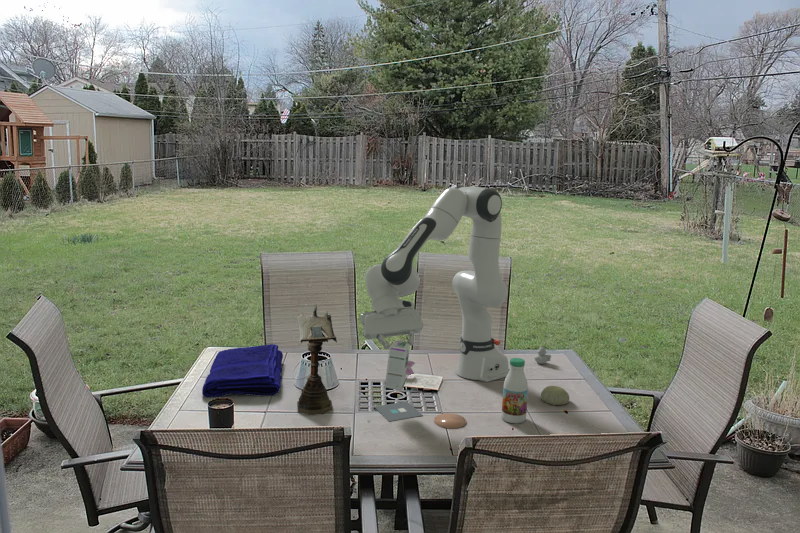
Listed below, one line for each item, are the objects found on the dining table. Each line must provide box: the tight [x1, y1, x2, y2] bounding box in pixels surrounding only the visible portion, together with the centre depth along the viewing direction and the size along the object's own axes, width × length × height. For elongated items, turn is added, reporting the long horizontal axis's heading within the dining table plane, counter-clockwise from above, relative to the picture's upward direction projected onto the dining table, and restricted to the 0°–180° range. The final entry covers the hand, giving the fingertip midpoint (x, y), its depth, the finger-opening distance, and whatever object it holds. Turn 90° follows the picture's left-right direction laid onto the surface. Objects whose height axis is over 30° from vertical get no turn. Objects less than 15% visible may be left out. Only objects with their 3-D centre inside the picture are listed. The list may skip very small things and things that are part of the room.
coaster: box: [433, 412, 467, 429], centre depth 202 cm, size 10×10×1 cm
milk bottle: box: [501, 357, 529, 424], centre depth 204 cm, size 8×8×20 cm
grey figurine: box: [534, 344, 552, 365], centre depth 258 cm, size 5×7×8 cm
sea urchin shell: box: [540, 385, 570, 406], centre depth 221 cm, size 9×8×8 cm
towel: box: [201, 343, 284, 398], centre depth 233 cm, size 26×36×9 cm
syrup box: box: [384, 340, 411, 391], centre depth 206 cm, size 6×6×14 cm
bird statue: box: [296, 303, 338, 416], centre depth 204 cm, size 17×13×35 cm
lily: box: [406, 360, 416, 376], centre depth 240 cm, size 11×11×9 cm
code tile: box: [374, 400, 424, 422], centre depth 209 cm, size 12×12×1 cm
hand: (399, 346), depth 206 cm, fingers closed on syrup box, 7 cm apart
